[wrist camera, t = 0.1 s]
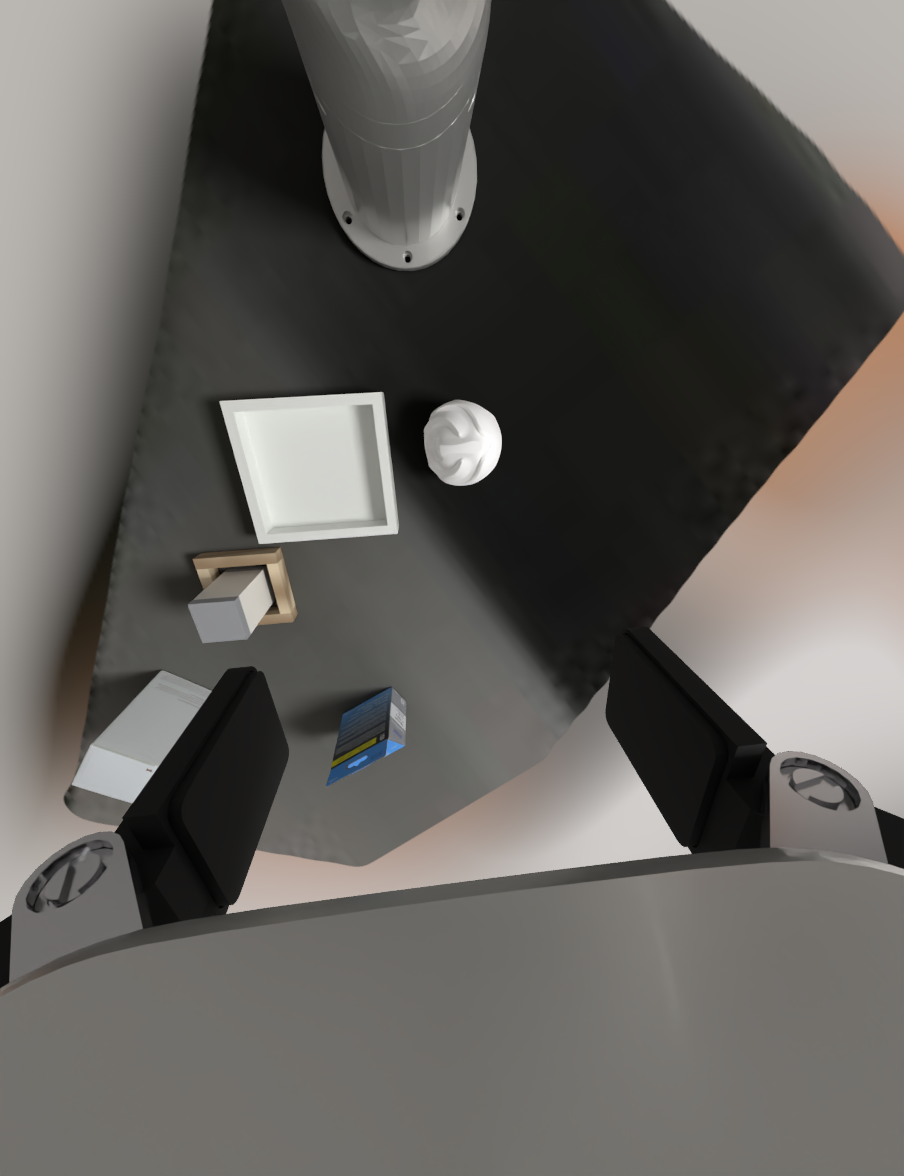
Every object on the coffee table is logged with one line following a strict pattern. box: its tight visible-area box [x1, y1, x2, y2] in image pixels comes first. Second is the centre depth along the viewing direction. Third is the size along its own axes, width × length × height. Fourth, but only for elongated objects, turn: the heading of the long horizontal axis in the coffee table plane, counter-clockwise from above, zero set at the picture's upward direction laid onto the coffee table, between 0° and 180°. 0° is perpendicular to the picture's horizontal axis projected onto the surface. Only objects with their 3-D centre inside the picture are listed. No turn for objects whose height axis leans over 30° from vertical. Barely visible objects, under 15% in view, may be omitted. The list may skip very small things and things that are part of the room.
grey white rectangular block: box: [188, 566, 275, 643], centre depth 44 cm, size 4×4×9 cm
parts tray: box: [219, 392, 399, 544], centre depth 41 cm, size 14×15×3 cm
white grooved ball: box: [424, 400, 502, 486], centre depth 39 cm, size 8×8×8 cm
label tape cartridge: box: [326, 687, 406, 787], centre depth 52 cm, size 9×4×12 cm, turn 122°
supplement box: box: [72, 670, 212, 803], centre depth 48 cm, size 7×7×13 cm
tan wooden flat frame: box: [193, 547, 297, 625], centre depth 47 cm, size 9×9×2 cm
